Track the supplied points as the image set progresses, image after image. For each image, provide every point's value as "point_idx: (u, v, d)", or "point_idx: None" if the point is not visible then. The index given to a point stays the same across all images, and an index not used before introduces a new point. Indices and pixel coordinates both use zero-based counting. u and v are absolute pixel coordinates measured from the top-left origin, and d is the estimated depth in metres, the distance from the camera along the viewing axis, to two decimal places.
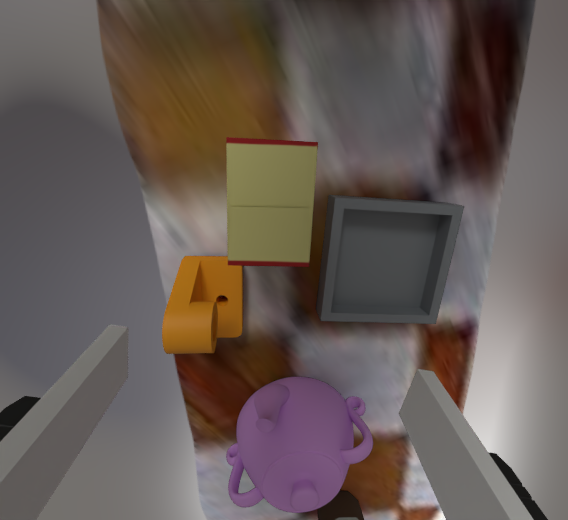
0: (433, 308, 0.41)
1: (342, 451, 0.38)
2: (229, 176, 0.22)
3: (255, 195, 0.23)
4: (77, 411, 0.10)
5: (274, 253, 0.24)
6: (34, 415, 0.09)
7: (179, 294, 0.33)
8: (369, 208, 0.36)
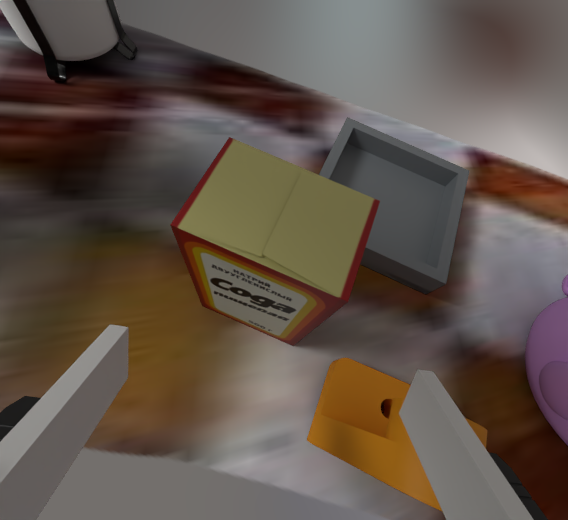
0: (450, 167, 0.36)
1: None
2: (220, 242, 0.15)
3: (261, 222, 0.16)
4: (77, 411, 0.10)
5: (349, 233, 0.16)
6: (34, 415, 0.09)
7: (367, 454, 0.19)
8: None
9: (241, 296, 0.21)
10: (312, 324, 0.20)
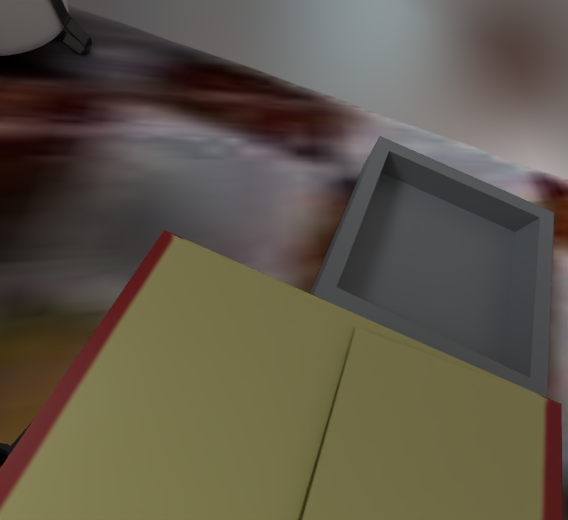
0: (528, 208, 0.25)
1: None
2: None
3: None
4: None
5: None
6: None
7: None
8: (348, 248, 0.21)
9: None
10: None
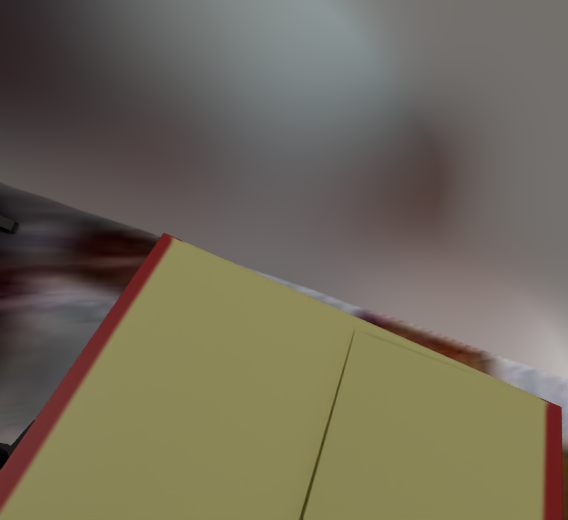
0: None
1: None
2: None
3: None
4: None
5: None
6: None
7: None
8: None
9: None
10: None
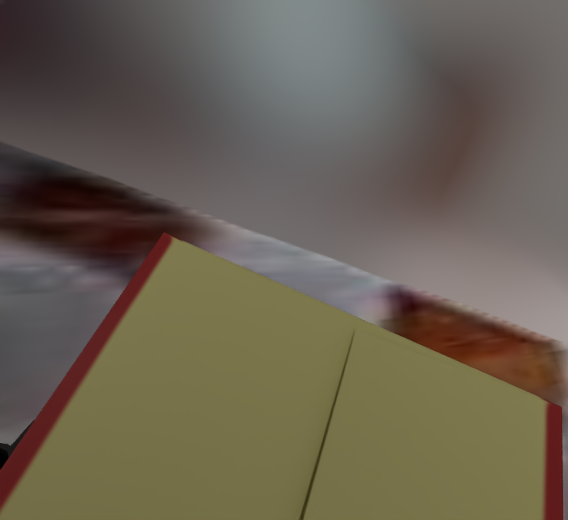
0: None
1: None
2: None
3: None
4: None
5: None
6: None
7: None
8: None
9: None
10: None
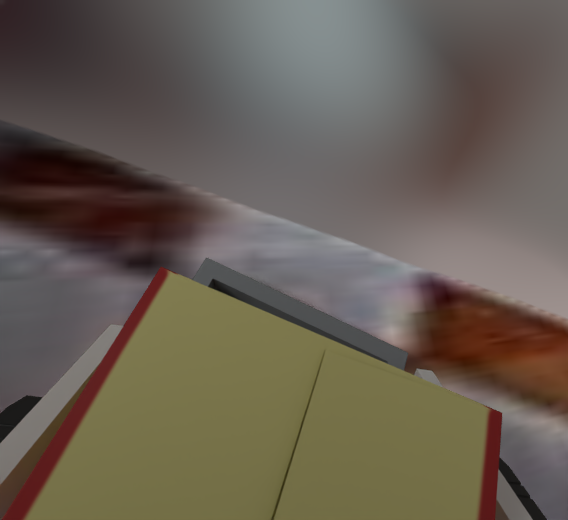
0: (375, 349, 0.21)
1: None
2: None
3: None
4: None
5: None
6: (36, 414, 0.09)
7: None
8: None
9: None
10: None
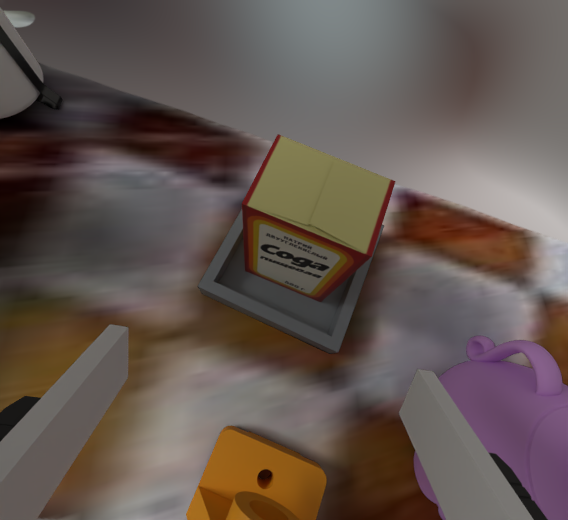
0: None
1: (538, 391, 0.25)
2: (278, 216, 0.21)
3: (306, 200, 0.21)
4: (77, 411, 0.10)
5: (371, 207, 0.22)
6: (34, 415, 0.09)
7: None
8: (225, 255, 0.33)
9: (284, 259, 0.27)
10: (340, 279, 0.26)
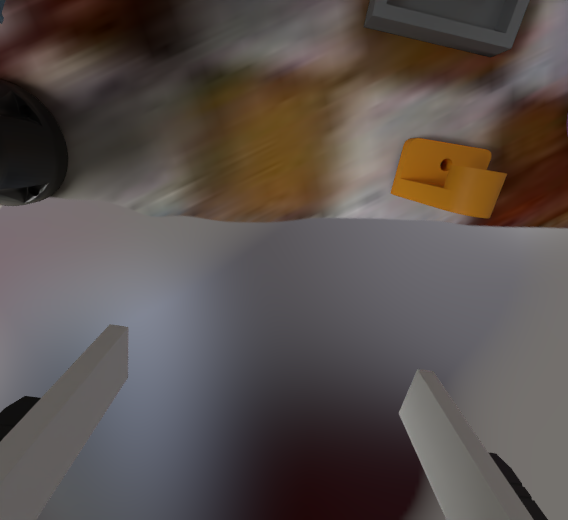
0: None
1: None
2: None
3: None
4: (77, 411, 0.10)
5: None
6: (34, 415, 0.09)
7: (432, 197, 0.35)
8: None
9: None
10: None
